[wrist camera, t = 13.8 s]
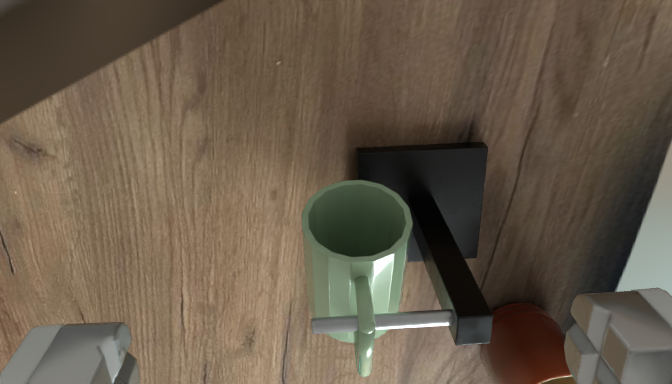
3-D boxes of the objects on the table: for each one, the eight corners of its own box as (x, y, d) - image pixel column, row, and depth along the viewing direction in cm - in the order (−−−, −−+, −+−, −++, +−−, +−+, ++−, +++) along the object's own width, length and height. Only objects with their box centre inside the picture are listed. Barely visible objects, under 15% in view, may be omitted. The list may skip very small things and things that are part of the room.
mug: (454, 309, 49) (490, 397, 40) (548, 277, 48) (606, 359, 39) (486, 397, 54) (525, 492, 45) (571, 369, 53) (628, 461, 44)
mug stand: (304, 150, 42) (307, 265, 27) (483, 141, 42) (577, 249, 28) (310, 260, 46) (316, 407, 32) (472, 250, 47) (549, 391, 32)
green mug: (306, 267, 41) (300, 182, 35) (392, 262, 41) (402, 177, 35) (311, 396, 34) (305, 319, 28) (415, 388, 34) (432, 311, 28)
